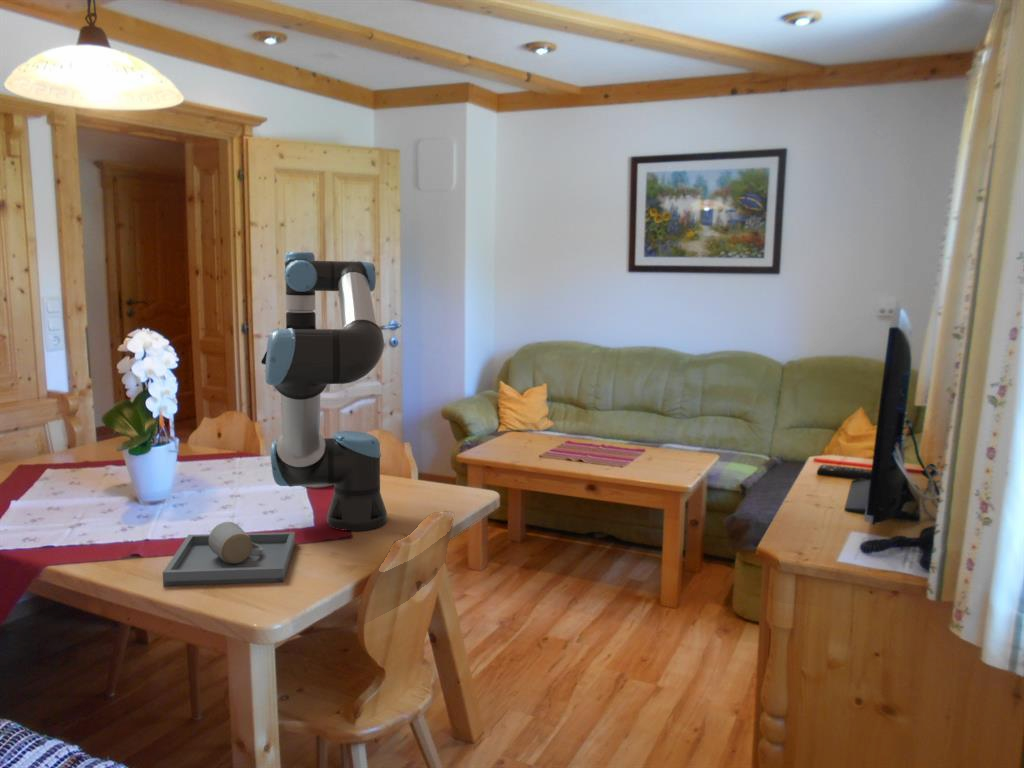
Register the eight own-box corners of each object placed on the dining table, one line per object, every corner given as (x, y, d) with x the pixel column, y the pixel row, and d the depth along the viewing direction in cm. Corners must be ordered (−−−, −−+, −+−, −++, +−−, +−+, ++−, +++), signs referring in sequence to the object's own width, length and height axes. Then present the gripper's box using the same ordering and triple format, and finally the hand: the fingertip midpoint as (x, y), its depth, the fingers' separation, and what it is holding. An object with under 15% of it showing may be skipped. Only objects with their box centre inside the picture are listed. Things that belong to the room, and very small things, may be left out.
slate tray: (295, 544, 189) (294, 532, 189) (283, 582, 168) (283, 568, 167) (188, 547, 185) (188, 534, 185) (163, 586, 164) (162, 572, 164)
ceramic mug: (222, 569, 171) (222, 535, 169) (208, 557, 177) (207, 524, 176) (269, 559, 178) (269, 525, 176) (254, 548, 184) (253, 516, 182)
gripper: (349, 310, 215) (350, 388, 219) (253, 309, 211) (255, 388, 215) (348, 313, 208) (348, 393, 211) (249, 311, 204) (251, 392, 207)
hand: (301, 390), depth 213 cm, fingers open, 13 cm apart
